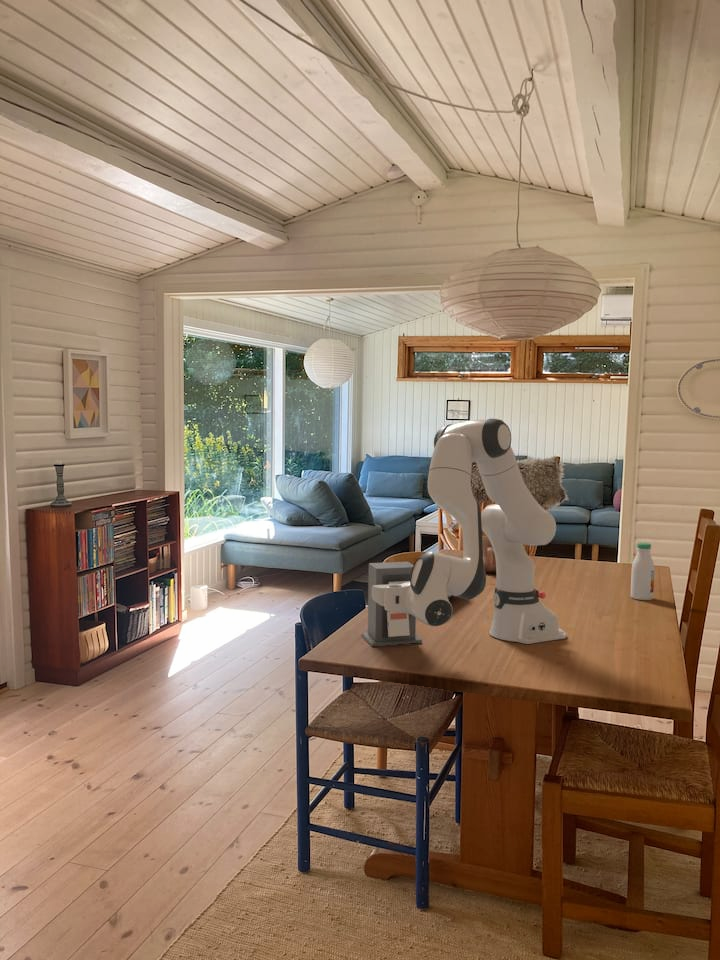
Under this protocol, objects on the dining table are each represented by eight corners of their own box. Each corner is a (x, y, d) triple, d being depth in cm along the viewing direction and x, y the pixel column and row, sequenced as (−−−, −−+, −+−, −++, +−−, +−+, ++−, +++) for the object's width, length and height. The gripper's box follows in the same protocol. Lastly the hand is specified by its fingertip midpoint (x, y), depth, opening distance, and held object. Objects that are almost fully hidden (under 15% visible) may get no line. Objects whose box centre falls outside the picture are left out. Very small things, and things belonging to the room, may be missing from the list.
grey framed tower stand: (409, 632, 234) (411, 560, 232) (421, 643, 223) (423, 567, 221) (361, 635, 230) (362, 562, 228) (371, 646, 219) (372, 570, 217)
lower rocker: (409, 635, 221) (407, 610, 222) (410, 635, 219) (409, 610, 220) (387, 636, 219) (386, 611, 220) (389, 636, 218) (387, 611, 219)
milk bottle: (645, 601, 274) (648, 546, 273) (626, 597, 280) (628, 542, 278) (657, 598, 279) (659, 543, 277) (637, 594, 285) (640, 540, 283)
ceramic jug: (478, 566, 334) (479, 533, 333) (512, 568, 329) (513, 535, 328) (470, 574, 317) (470, 540, 316) (505, 577, 312) (506, 542, 311)
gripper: (454, 584, 207) (435, 573, 220) (380, 587, 201) (366, 576, 215) (453, 607, 208) (434, 594, 221) (380, 611, 202) (365, 598, 215)
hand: (400, 585), depth 218 cm, fingers closed, pressing on upper rocker
